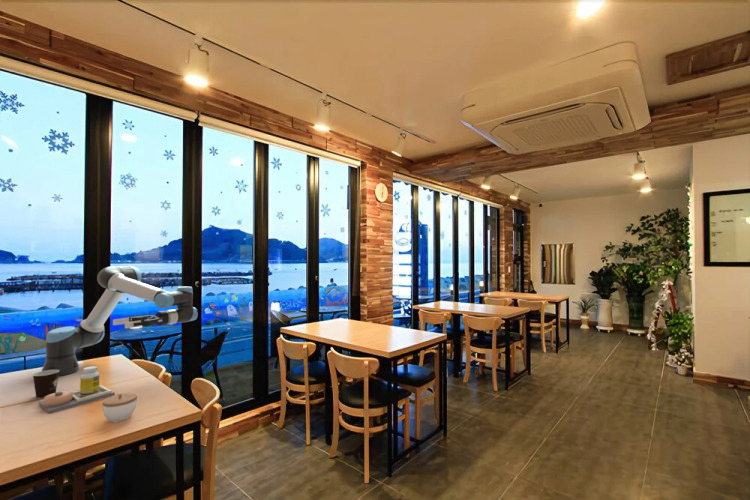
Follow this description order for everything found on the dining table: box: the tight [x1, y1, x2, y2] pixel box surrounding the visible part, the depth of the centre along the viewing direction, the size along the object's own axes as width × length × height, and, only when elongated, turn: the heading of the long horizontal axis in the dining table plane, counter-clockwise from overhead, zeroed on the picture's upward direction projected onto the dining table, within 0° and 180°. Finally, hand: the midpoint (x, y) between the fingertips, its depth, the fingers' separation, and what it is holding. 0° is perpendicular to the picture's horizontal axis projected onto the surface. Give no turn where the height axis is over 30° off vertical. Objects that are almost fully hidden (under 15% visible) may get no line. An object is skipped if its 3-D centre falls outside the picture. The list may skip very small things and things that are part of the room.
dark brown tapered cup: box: [32, 370, 60, 399], centre depth 158 cm, size 12×9×10 cm
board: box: [38, 384, 116, 414], centre depth 151 cm, size 14×22×5 cm, turn 146°
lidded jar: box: [102, 392, 138, 423], centre depth 134 cm, size 11×11×9 cm
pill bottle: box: [79, 365, 100, 396], centre depth 155 cm, size 6×6×12 cm
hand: (118, 323), depth 167 cm, fingers open, 13 cm apart
